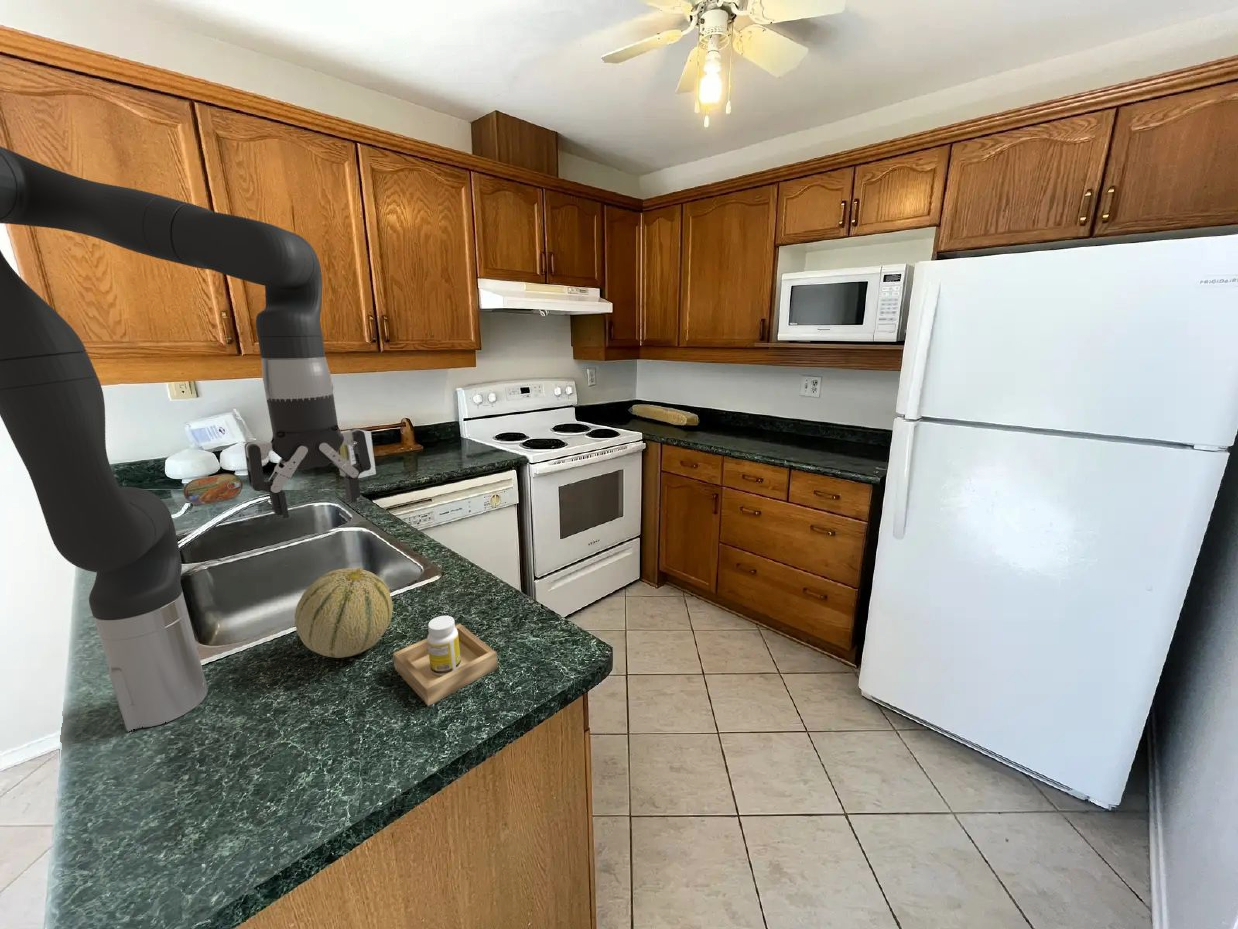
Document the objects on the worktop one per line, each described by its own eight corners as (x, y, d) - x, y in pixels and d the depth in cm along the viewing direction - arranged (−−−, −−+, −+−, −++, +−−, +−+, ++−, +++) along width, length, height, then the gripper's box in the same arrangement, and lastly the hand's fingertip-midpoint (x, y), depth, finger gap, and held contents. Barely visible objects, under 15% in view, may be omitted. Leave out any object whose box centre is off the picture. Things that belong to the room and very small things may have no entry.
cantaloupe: (296, 645, 89) (281, 568, 85) (383, 615, 98) (373, 545, 94) (311, 689, 78) (295, 604, 74) (408, 652, 87) (398, 574, 83)
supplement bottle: (450, 654, 86) (446, 610, 83) (466, 665, 83) (463, 620, 81) (424, 668, 82) (419, 623, 80) (441, 681, 79) (436, 634, 77)
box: (428, 706, 75) (426, 689, 74) (395, 669, 83) (392, 653, 82) (497, 668, 83) (496, 652, 82) (461, 638, 91) (459, 623, 90)
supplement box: (339, 475, 190) (332, 432, 185) (362, 470, 197) (357, 428, 193) (353, 480, 185) (347, 435, 180) (377, 474, 192) (371, 431, 188)
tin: (188, 508, 156) (182, 482, 154) (185, 506, 158) (179, 480, 155) (245, 495, 167) (240, 471, 165) (242, 494, 169) (237, 470, 167)
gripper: (348, 386, 73) (363, 491, 77) (227, 395, 63) (252, 515, 67) (367, 390, 68) (382, 503, 72) (239, 401, 58) (265, 530, 62)
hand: (319, 509), depth 70 cm, fingers open, 8 cm apart
